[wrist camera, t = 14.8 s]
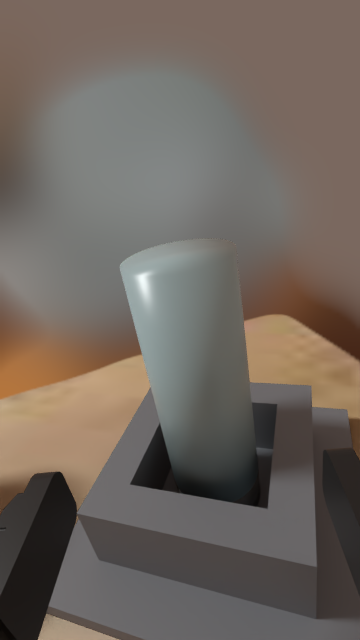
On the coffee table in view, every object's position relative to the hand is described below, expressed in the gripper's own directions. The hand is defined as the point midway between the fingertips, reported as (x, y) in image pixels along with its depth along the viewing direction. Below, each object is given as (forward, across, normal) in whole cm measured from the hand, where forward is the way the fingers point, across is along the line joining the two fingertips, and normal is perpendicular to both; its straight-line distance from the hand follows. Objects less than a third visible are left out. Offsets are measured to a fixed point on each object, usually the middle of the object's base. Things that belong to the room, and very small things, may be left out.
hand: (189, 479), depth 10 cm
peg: (+7, 0, +10) cm, 12 cm away
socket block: (+7, 0, +11) cm, 13 cm away
